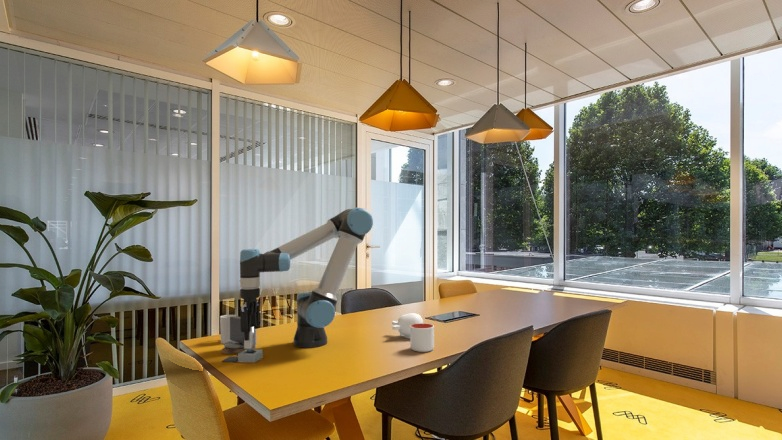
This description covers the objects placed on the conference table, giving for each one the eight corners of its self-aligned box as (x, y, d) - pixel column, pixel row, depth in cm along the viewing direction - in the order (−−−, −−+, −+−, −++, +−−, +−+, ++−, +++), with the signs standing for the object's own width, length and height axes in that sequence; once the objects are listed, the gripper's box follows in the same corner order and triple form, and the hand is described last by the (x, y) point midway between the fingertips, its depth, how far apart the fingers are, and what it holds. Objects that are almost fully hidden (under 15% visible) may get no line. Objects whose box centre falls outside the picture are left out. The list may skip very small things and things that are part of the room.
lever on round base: (243, 340, 195) (243, 310, 195) (259, 344, 187) (259, 313, 188) (218, 346, 185) (218, 314, 186) (235, 350, 178) (234, 317, 178)
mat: (243, 357, 175) (243, 356, 175) (236, 362, 170) (236, 361, 170) (229, 357, 176) (229, 356, 176) (221, 361, 170) (221, 360, 170)
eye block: (262, 357, 176) (262, 349, 176) (254, 362, 169) (254, 354, 169) (246, 356, 177) (246, 349, 177) (237, 361, 170) (237, 354, 170)
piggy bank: (424, 338, 209) (393, 341, 209) (421, 313, 213) (391, 316, 213) (425, 336, 198) (393, 339, 197) (423, 310, 201) (390, 313, 201)
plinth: (255, 347, 191) (255, 342, 191) (244, 354, 181) (244, 348, 181) (234, 347, 192) (234, 342, 192) (222, 353, 182) (222, 348, 182)
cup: (437, 347, 187) (437, 324, 187) (429, 354, 178) (429, 329, 178) (415, 345, 191) (415, 322, 191) (406, 351, 182) (406, 327, 182)
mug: (236, 343, 199) (236, 316, 199) (220, 344, 196) (220, 318, 196) (234, 338, 208) (234, 313, 208) (219, 339, 205) (219, 314, 205)
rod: (255, 358, 174) (255, 326, 174) (252, 360, 171) (252, 327, 172) (248, 358, 175) (248, 325, 175) (245, 360, 172) (245, 327, 172)
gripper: (250, 285, 182) (251, 341, 182) (230, 290, 166) (230, 352, 165) (267, 285, 181) (268, 341, 181) (249, 290, 165) (249, 352, 164)
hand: (250, 346), depth 173 cm, fingers open, 4 cm apart
